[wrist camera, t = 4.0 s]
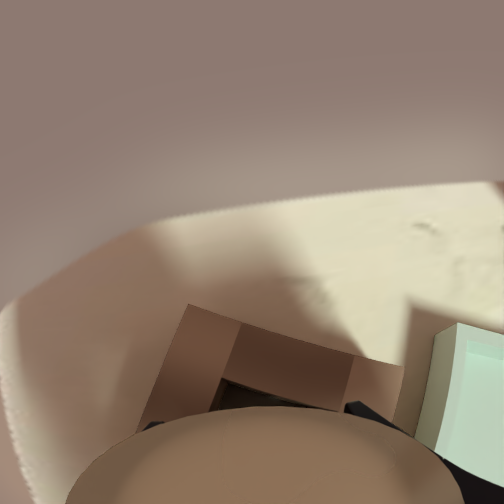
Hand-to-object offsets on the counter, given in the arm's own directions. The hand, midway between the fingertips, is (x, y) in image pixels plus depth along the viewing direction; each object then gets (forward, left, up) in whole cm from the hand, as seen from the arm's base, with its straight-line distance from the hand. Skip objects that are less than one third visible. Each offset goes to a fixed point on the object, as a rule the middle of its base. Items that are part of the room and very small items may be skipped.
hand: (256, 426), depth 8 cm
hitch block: (-1, -1, -7) cm, 7 cm away
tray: (+1, -15, -7) cm, 16 cm away
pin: (-1, -1, -7) cm, 7 cm away
